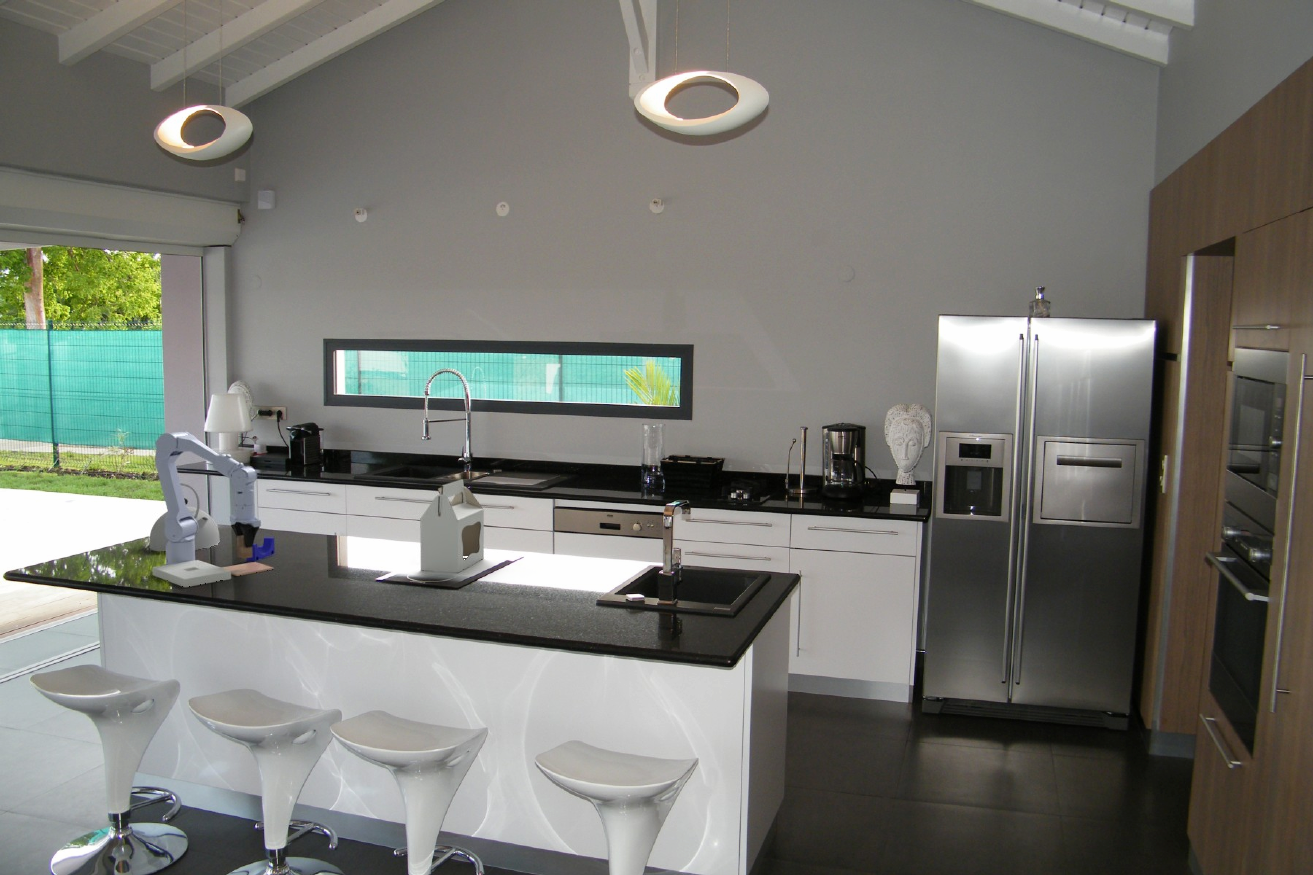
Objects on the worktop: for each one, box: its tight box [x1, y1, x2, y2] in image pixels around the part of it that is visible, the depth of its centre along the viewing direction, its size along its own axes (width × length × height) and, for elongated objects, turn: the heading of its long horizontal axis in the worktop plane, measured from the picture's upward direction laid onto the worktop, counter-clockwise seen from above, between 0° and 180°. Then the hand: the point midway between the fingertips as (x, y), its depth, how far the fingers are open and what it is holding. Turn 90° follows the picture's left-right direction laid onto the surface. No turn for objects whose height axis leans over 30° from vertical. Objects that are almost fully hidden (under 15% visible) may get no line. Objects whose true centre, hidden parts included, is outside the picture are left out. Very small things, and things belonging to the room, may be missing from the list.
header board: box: [152, 559, 232, 588], centre depth 290 cm, size 22×14×2 cm, turn 51°
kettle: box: [149, 482, 221, 552], centre depth 333 cm, size 25×23×22 cm
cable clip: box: [246, 536, 276, 562], centre depth 317 cm, size 12×4×6 cm, turn 172°
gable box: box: [419, 478, 485, 573], centre depth 311 cm, size 22×13×28 cm, turn 169°
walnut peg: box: [236, 535, 252, 560], centre depth 299 cm, size 3×3×7 cm
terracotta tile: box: [221, 561, 275, 577], centre depth 300 cm, size 12×12×1 cm
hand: (245, 546), depth 299 cm, fingers closed on walnut peg, 3 cm apart
